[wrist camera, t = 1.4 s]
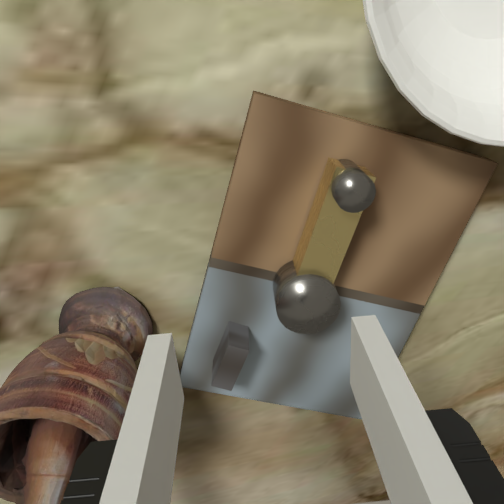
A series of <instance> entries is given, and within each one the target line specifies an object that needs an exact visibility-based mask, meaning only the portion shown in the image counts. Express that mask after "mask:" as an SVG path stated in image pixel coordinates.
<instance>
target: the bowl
mask: <svg viewBox="0 0 504 504" xmlns="http://www.w3.org/2000/svg"><path fill="white" fill-rule="evenodd" d="M363 6H364V13H365V19H366V23H367V26H368V29H369V32H370V35H371V37H372V40H373V43H374V46H375V49H376V52H377V55H378V57H379V60H380V62H381V63H382V65H383V67H384V68H385V70H386V72H387V73H388V75H389V77H390V78H391V80H392V81H393V83H394V85H395V86H396V88H397V90H398V91H399V92H400V93H401V94H402V95H403V96H404V97H405V99H406V100H407V101H408V102H409V103H410V104H411V105H412V106H413V107H414V108H415V109H416V110H417V111H418V112H419V113H420V114H421V115H422V116H423V117H425V118H426V119H428V120H430V121H431V122H433V123H434V124H436V125H437V126H439V127H440V128H442V129H444V130H445V131H447V132H448V133H450V134H453V135H456V136H459V137H461V138H464V139H467V140H470V141H473V142H476V143H479V144H484V145H493V146H501V147H504V0H363Z"/></svg>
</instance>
